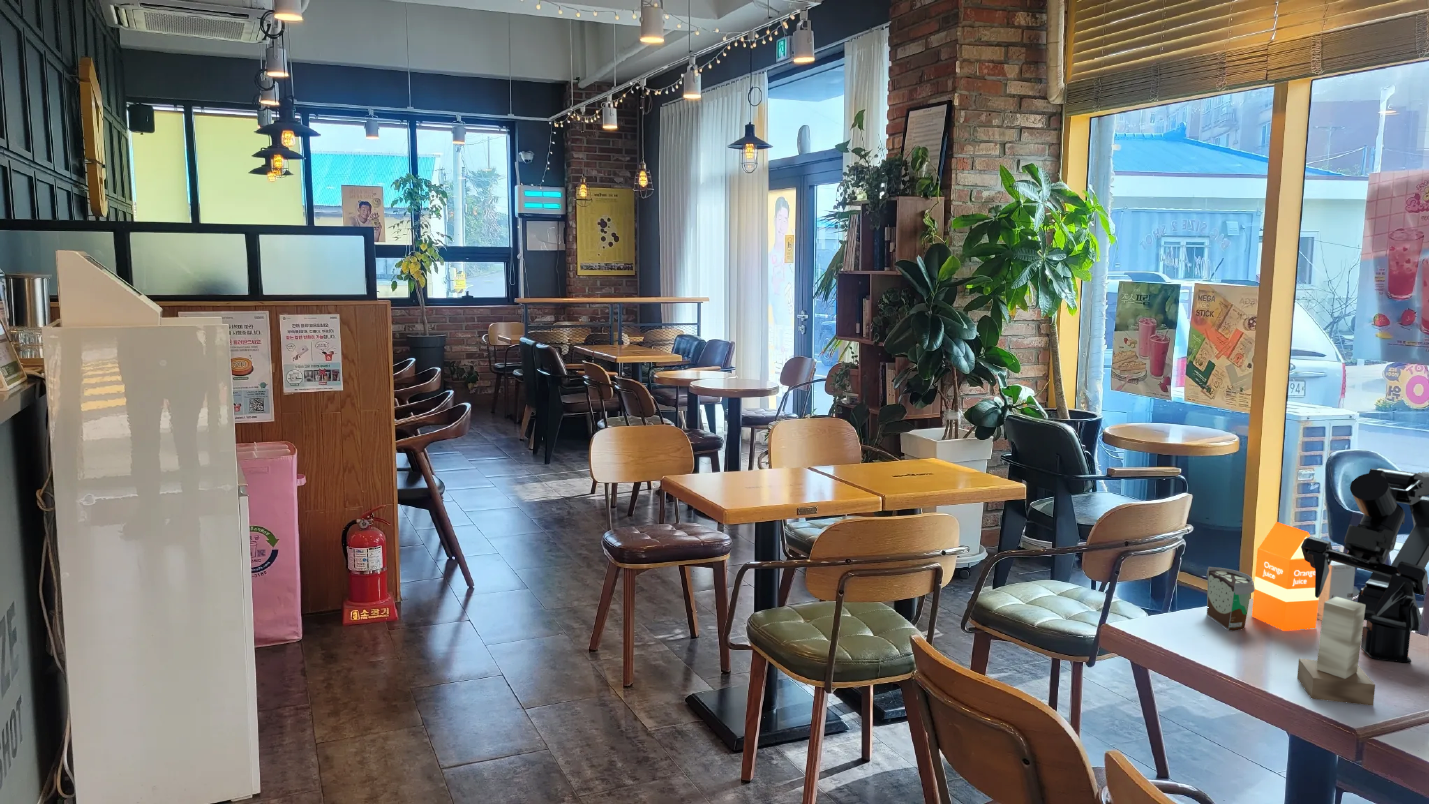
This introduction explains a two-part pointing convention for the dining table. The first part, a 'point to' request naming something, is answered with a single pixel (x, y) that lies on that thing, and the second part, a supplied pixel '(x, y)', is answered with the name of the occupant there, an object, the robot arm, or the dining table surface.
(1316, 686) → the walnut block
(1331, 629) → the birch pillar
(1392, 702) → the dining table surface
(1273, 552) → the orange juice
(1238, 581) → the food container
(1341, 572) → the skincare box
